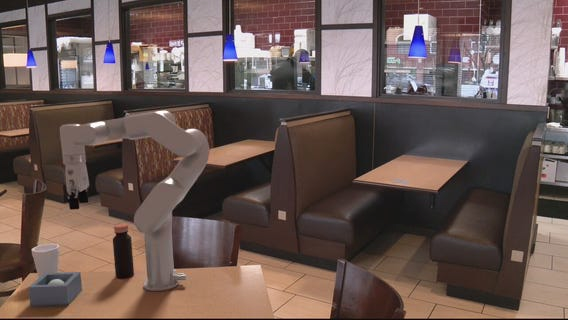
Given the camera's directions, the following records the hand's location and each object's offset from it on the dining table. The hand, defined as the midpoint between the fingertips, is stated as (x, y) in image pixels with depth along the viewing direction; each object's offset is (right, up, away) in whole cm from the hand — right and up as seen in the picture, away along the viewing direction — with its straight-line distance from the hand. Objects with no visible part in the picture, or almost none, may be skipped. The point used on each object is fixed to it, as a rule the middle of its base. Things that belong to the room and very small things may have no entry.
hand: (79, 205), depth 185 cm
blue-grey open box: (-5, -31, -7) cm, 33 cm away
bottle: (+13, -28, +12) cm, 33 cm away
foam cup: (-15, -29, +9) cm, 34 cm away
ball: (-5, -28, -8) cm, 29 cm away
